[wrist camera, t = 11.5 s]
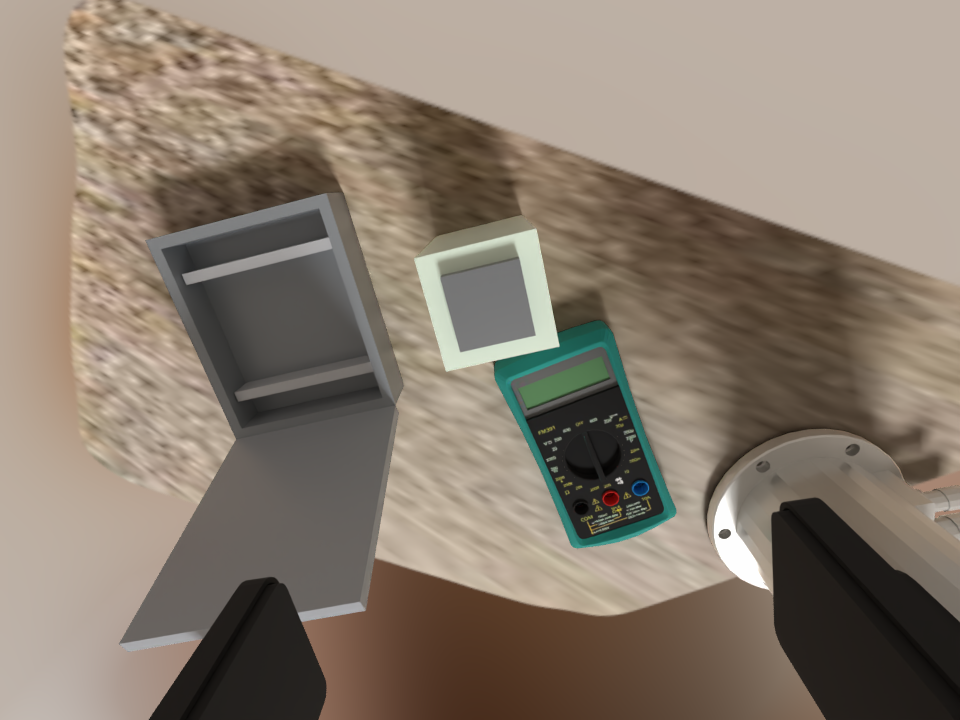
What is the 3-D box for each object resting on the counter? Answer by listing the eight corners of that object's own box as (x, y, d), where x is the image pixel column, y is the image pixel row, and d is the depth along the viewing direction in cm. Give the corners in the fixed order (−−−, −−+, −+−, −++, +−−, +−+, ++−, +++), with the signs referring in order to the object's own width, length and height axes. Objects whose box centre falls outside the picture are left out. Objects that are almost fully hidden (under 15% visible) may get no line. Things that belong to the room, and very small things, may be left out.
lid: (359, 601, 18) (370, 618, 19) (395, 405, 28) (401, 419, 29) (118, 644, 19) (136, 658, 20) (236, 439, 29) (245, 453, 30)
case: (342, 192, 27) (326, 192, 25) (404, 385, 31) (395, 405, 28) (179, 234, 28) (145, 240, 26) (258, 416, 32) (236, 439, 29)
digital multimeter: (570, 534, 36) (577, 563, 33) (489, 356, 31) (490, 374, 28) (668, 500, 35) (684, 528, 32) (600, 312, 30) (612, 325, 27)
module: (521, 214, 28) (537, 229, 19) (539, 299, 29) (561, 351, 20) (436, 236, 28) (411, 260, 19) (458, 318, 30) (444, 376, 21)
